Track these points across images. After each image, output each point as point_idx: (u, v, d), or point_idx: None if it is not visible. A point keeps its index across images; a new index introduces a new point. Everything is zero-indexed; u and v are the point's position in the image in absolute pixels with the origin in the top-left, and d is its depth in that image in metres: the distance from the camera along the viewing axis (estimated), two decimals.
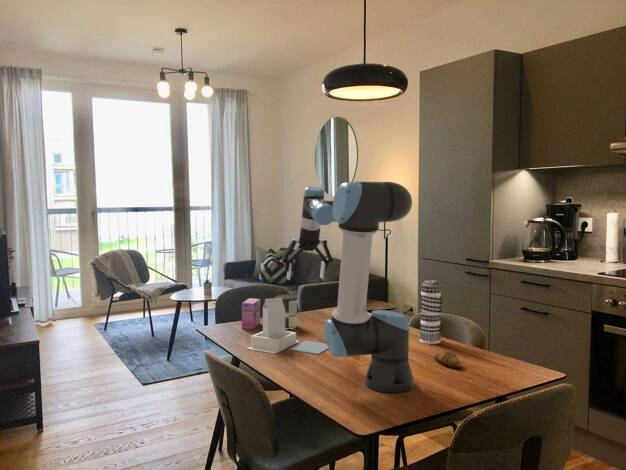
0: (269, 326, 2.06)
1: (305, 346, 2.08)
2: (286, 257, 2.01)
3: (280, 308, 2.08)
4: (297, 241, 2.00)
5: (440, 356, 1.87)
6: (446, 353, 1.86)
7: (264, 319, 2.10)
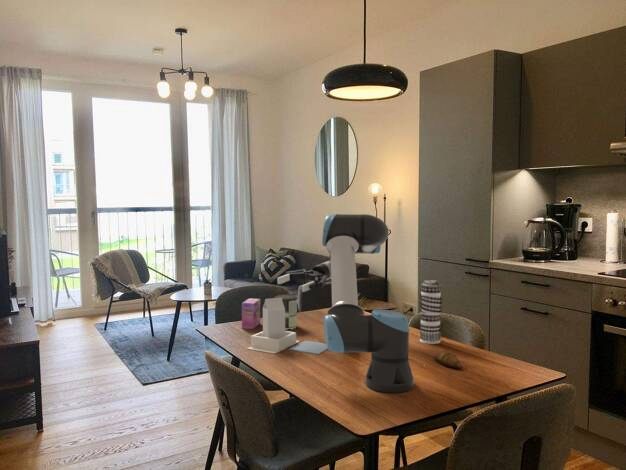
0: (269, 326, 2.06)
1: (305, 346, 2.08)
2: (290, 271, 2.24)
3: (280, 308, 2.08)
4: None
5: (440, 356, 1.87)
6: (446, 353, 1.86)
7: (264, 319, 2.10)
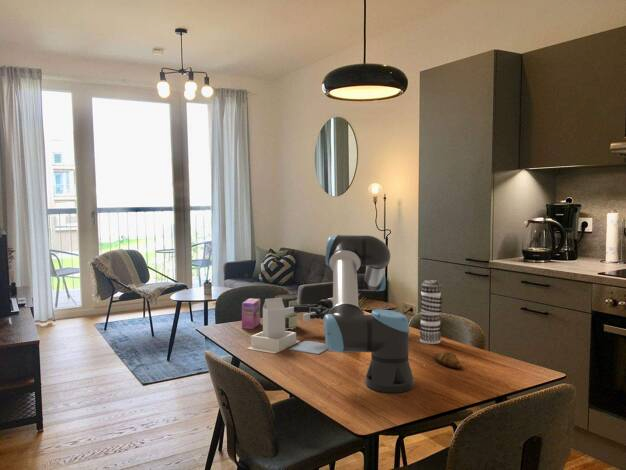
0: (269, 326, 2.06)
1: (305, 346, 2.08)
2: (295, 305, 2.29)
3: (280, 308, 2.08)
4: None
5: (440, 356, 1.87)
6: (446, 353, 1.86)
7: (264, 319, 2.10)
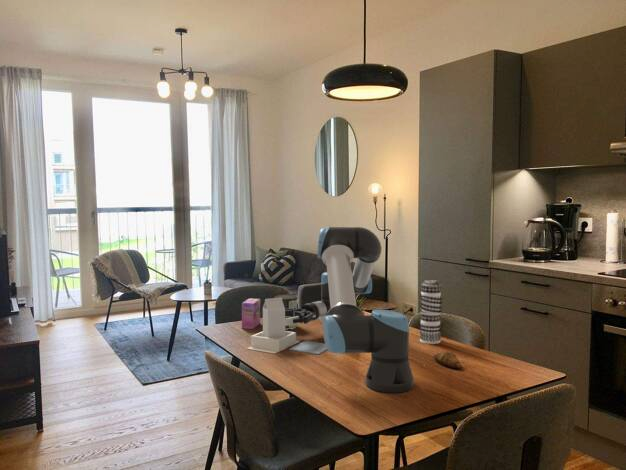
0: (269, 326, 2.06)
1: (305, 346, 2.08)
2: None
3: (280, 308, 2.08)
4: None
5: (440, 356, 1.87)
6: (446, 353, 1.86)
7: (264, 319, 2.10)
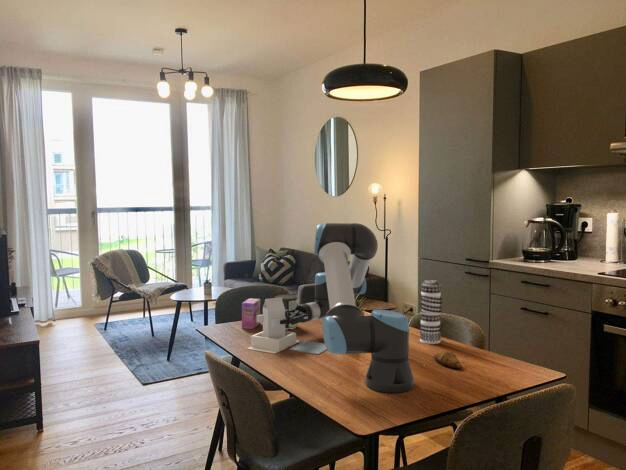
0: (269, 326, 2.06)
1: (305, 346, 2.08)
2: None
3: (280, 308, 2.08)
4: None
5: (440, 356, 1.87)
6: (446, 353, 1.86)
7: (264, 319, 2.10)
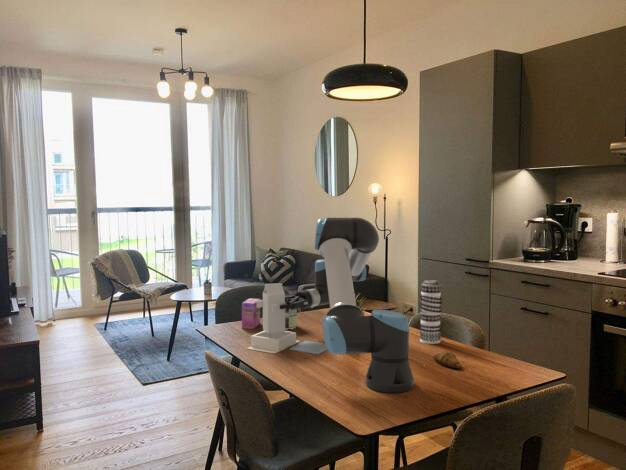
0: (269, 311, 2.06)
1: (305, 346, 2.08)
2: None
3: (280, 293, 2.07)
4: None
5: (439, 356, 1.87)
6: (445, 353, 1.86)
7: (264, 305, 2.10)
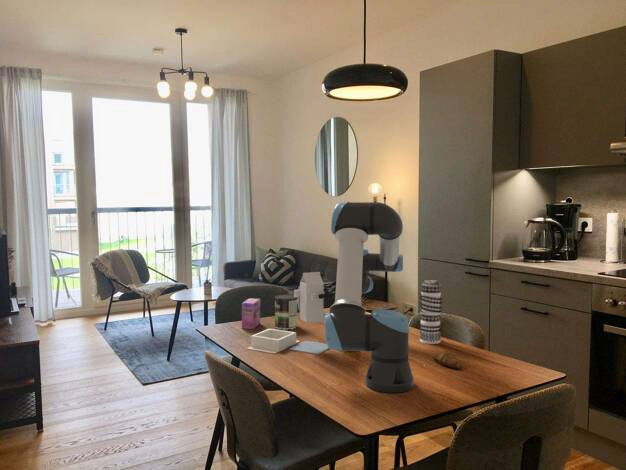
0: (307, 300, 2.01)
1: (305, 346, 2.08)
2: None
3: (319, 282, 2.03)
4: (325, 287, 2.17)
5: (439, 356, 1.87)
6: (445, 353, 1.86)
7: (302, 294, 2.05)
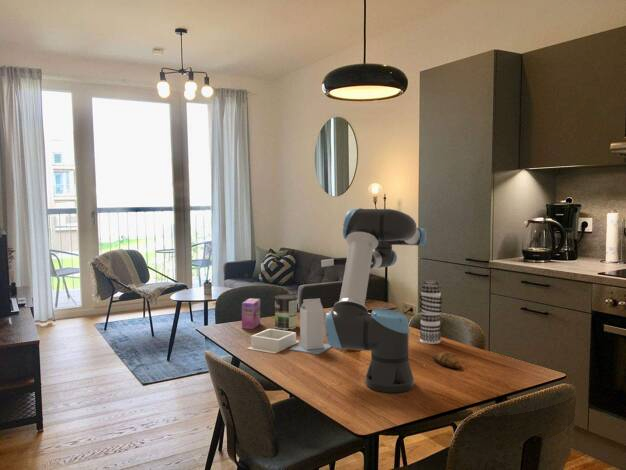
0: (308, 327, 2.02)
1: None
2: (334, 258, 2.23)
3: (319, 309, 2.04)
4: None
5: (439, 356, 1.86)
6: (445, 353, 1.86)
7: (302, 321, 2.06)
